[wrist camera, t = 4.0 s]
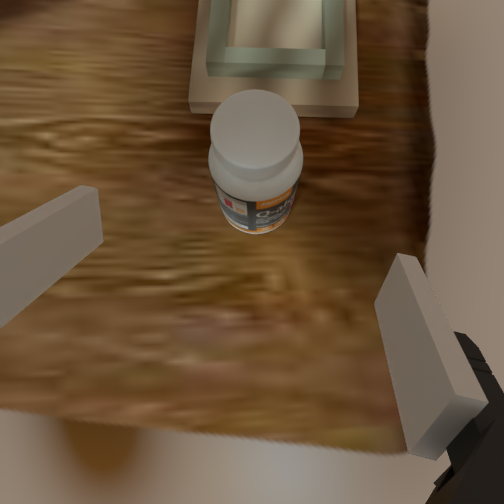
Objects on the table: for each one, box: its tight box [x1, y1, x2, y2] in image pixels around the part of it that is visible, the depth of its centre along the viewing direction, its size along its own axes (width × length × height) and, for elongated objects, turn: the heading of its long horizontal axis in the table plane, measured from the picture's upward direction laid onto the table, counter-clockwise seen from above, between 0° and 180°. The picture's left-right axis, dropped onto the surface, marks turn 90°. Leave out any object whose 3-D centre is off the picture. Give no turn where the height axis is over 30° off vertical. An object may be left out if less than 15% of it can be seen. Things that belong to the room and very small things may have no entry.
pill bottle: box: [208, 89, 303, 234], centre depth 21 cm, size 6×6×10 cm
